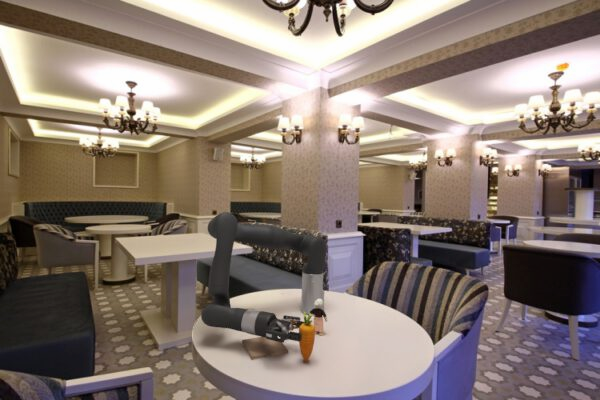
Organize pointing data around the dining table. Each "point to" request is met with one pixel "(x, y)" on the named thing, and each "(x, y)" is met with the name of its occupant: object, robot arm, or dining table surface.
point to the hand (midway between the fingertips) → (306, 332)
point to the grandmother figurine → (318, 317)
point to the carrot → (307, 337)
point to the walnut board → (263, 347)
